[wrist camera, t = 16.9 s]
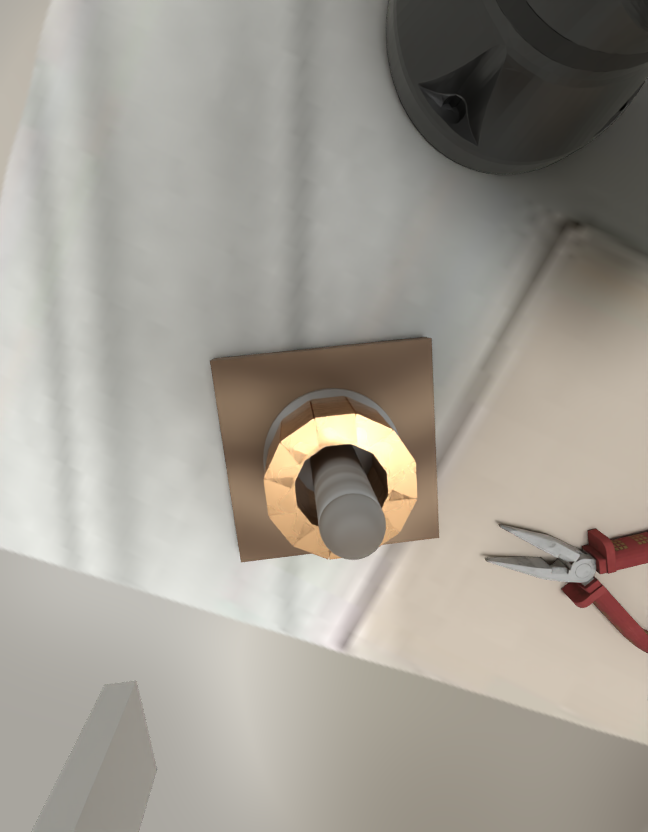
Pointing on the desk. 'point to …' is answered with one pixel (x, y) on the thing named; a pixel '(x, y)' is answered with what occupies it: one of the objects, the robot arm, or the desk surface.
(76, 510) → the desk surface
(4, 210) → the desk surface
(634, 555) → the pliers
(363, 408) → the light wood ring
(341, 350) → the bobbin stand
